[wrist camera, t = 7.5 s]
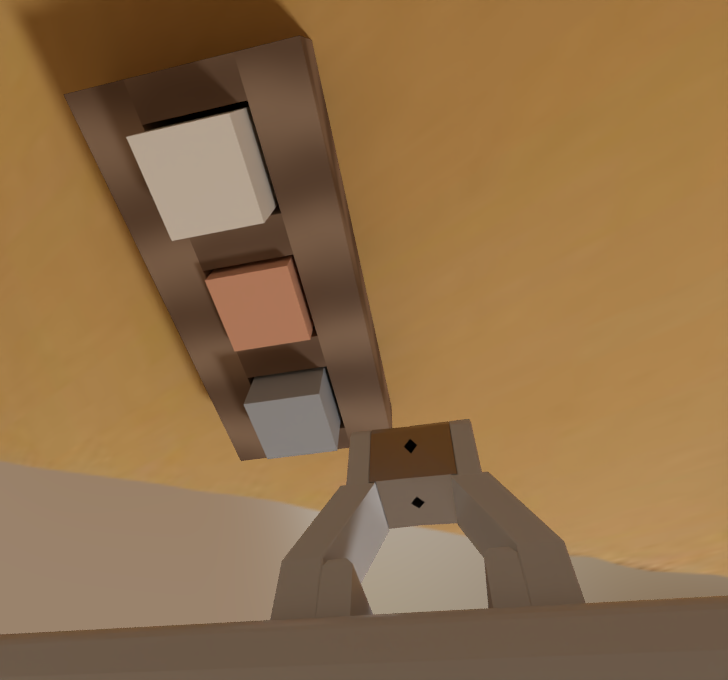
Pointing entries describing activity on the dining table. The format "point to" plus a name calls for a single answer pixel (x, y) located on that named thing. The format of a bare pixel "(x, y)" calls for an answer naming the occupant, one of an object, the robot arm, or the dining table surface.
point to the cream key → (206, 173)
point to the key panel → (250, 227)
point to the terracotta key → (261, 303)
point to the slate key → (294, 412)
